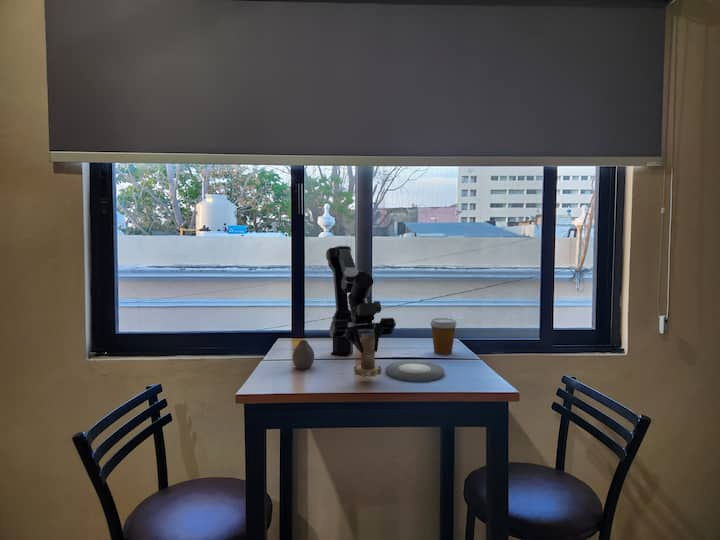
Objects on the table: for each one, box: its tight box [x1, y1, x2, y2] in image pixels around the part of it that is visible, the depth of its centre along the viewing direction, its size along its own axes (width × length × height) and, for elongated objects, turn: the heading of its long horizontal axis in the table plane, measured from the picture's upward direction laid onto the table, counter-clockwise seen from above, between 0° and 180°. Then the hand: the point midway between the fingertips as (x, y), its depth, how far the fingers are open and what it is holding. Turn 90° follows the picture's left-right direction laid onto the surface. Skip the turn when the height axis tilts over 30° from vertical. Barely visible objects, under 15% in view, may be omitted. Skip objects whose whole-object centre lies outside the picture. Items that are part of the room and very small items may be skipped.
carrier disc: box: [385, 360, 445, 383], centre depth 143 cm, size 18×18×1 cm
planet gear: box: [353, 332, 382, 378], centre depth 133 cm, size 8×8×12 cm
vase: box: [292, 339, 315, 370], centre depth 147 cm, size 7×7×9 cm
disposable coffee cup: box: [429, 317, 457, 356], centre depth 167 cm, size 10×10×12 cm
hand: (369, 351), depth 132 cm, fingers closed on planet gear, 4 cm apart
